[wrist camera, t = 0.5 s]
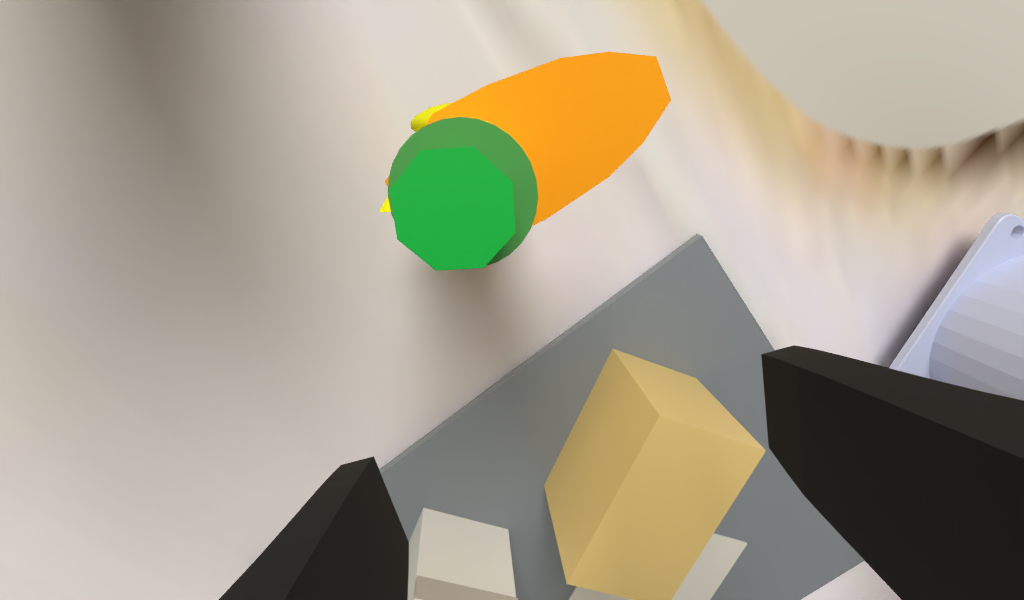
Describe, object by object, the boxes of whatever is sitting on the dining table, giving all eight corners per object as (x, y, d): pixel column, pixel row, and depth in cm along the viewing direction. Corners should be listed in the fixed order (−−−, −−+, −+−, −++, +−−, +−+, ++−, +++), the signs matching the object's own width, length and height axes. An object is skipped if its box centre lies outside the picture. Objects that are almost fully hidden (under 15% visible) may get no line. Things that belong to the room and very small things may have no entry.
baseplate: (697, 233, 19) (703, 236, 18) (888, 535, 25) (897, 542, 25) (249, 566, 22) (245, 575, 21) (519, 762, 28) (520, 773, 28)
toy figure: (548, 55, 16) (740, -125, 5) (589, 154, 18) (820, 188, 6) (372, 148, 17) (188, 174, 6) (424, 239, 18) (360, 415, 7)
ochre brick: (696, 378, 21) (765, 450, 16) (623, 507, 22) (666, 607, 18) (612, 348, 20) (659, 415, 15) (543, 485, 22) (566, 583, 17)
